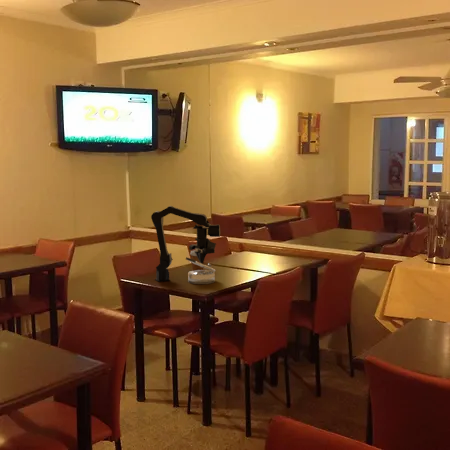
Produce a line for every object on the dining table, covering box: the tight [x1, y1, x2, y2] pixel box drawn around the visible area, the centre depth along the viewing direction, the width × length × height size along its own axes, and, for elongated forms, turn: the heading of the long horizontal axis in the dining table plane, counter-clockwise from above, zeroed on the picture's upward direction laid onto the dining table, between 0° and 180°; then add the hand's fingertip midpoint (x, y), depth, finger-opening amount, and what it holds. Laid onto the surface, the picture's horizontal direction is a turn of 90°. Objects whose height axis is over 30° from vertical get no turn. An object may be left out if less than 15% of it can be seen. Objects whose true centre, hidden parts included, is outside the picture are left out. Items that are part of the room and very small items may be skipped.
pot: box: [187, 269, 216, 285], centre depth 329 cm, size 15×15×5 cm
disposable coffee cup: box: [189, 249, 205, 271], centre depth 359 cm, size 10×10×12 cm
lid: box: [185, 256, 216, 273], centre depth 328 cm, size 18×15×3 cm
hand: (201, 264), depth 328 cm, fingers closed, pressing on lid
